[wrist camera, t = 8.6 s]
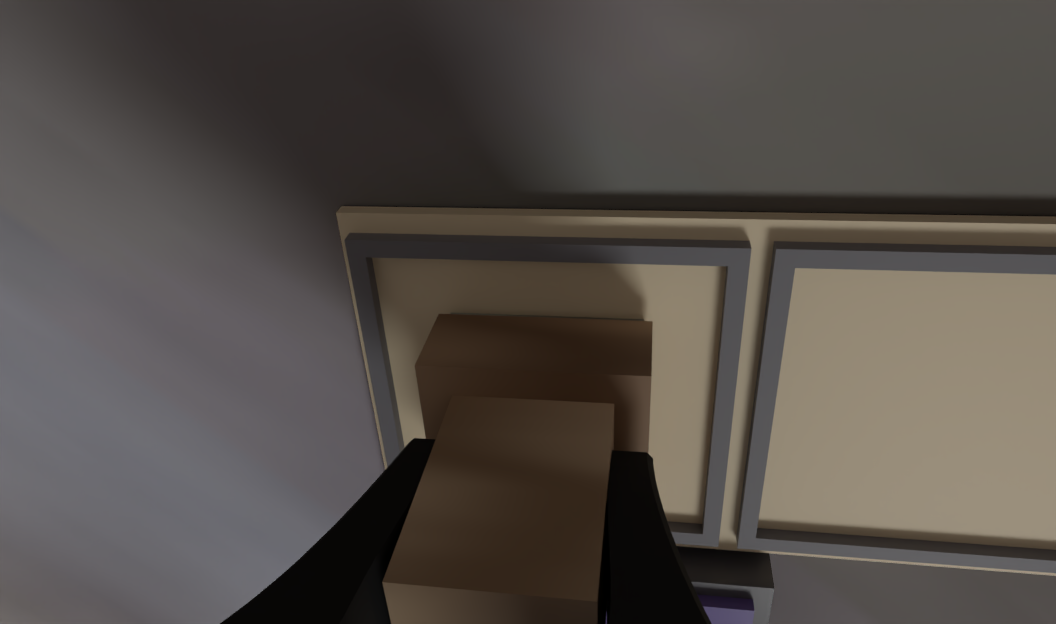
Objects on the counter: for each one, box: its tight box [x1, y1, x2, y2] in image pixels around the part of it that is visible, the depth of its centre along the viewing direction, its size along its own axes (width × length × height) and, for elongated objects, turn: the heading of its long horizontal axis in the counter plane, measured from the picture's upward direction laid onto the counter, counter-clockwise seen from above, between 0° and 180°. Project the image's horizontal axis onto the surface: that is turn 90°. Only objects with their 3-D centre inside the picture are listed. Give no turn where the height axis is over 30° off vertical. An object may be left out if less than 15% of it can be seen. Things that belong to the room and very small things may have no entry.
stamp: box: [382, 313, 653, 624], centre depth 13 cm, size 4×4×6 cm
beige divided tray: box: [336, 206, 1056, 576], centre depth 15 cm, size 15×8×1 cm, turn 93°
